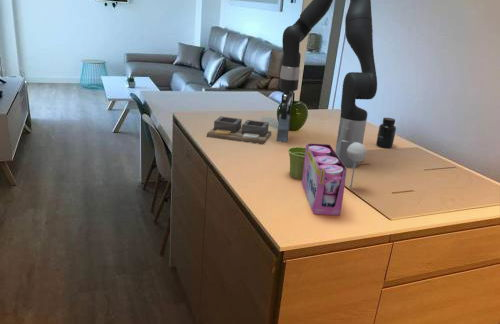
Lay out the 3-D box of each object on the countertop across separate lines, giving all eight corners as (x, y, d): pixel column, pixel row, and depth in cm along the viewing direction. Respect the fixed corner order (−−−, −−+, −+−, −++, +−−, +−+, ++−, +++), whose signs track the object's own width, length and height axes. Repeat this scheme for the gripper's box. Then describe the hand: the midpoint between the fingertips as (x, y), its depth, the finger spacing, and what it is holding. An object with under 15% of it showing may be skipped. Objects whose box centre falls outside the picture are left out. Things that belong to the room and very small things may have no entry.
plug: (286, 142, 185) (288, 116, 181) (276, 141, 185) (279, 115, 182) (287, 140, 188) (290, 114, 185) (278, 138, 189) (280, 113, 185)
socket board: (263, 144, 180) (265, 131, 178) (206, 136, 184) (207, 123, 182) (271, 134, 194) (272, 122, 192) (218, 127, 199) (218, 115, 197)
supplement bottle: (374, 146, 188) (379, 118, 184) (377, 142, 194) (382, 115, 190) (390, 149, 186) (396, 121, 181) (393, 145, 191) (399, 118, 187)
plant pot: (315, 173, 153) (318, 149, 150) (311, 183, 144) (314, 157, 141) (288, 169, 155) (290, 145, 152) (282, 178, 146) (285, 153, 143)
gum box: (342, 218, 122) (349, 171, 117) (313, 216, 121) (319, 170, 117) (325, 184, 144) (330, 144, 140) (300, 183, 144) (305, 142, 139)
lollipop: (347, 182, 146) (353, 139, 141) (363, 188, 143) (371, 143, 138) (337, 187, 142) (344, 142, 137) (354, 193, 138) (362, 147, 133)
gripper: (296, 81, 171) (291, 122, 177) (301, 75, 184) (297, 114, 190) (276, 79, 173) (273, 119, 178) (283, 73, 186) (279, 111, 191)
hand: (285, 116), depth 184 cm, fingers open, 8 cm apart
